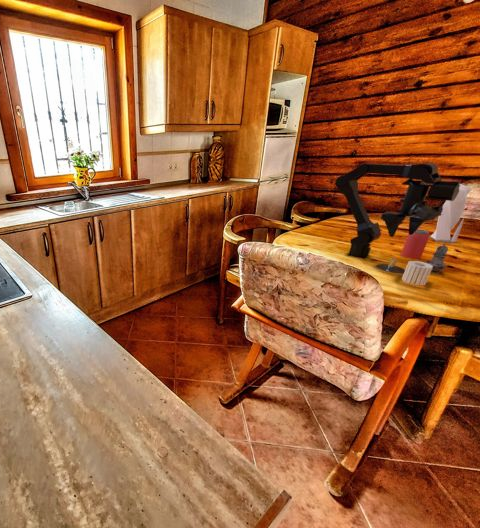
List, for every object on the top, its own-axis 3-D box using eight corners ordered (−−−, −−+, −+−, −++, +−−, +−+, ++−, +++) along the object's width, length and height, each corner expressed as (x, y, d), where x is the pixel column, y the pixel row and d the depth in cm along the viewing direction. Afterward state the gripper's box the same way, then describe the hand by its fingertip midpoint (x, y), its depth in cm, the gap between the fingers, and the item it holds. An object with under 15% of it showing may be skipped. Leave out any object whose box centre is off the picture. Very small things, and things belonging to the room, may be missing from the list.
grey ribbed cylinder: (400, 281, 104) (406, 264, 102) (403, 275, 108) (410, 259, 105) (423, 287, 100) (431, 269, 97) (426, 281, 103) (434, 264, 101)
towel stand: (373, 269, 115) (376, 259, 113) (378, 263, 120) (382, 253, 118) (402, 276, 108) (406, 266, 107) (407, 269, 114) (411, 259, 112)
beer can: (416, 260, 120) (427, 234, 116) (397, 255, 126) (406, 230, 121) (423, 257, 123) (434, 231, 118) (404, 252, 129) (413, 228, 124)
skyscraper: (433, 241, 139) (457, 184, 128) (425, 236, 146) (447, 181, 135) (456, 242, 136) (483, 184, 125) (446, 237, 143) (471, 181, 132)
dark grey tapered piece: (447, 275, 107) (460, 246, 102) (429, 274, 108) (441, 246, 104) (435, 269, 113) (447, 241, 108) (418, 268, 114) (429, 241, 109)
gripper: (417, 203, 98) (402, 244, 105) (460, 199, 101) (443, 239, 107) (386, 197, 108) (373, 235, 115) (426, 194, 111) (412, 231, 117)
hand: (400, 235), depth 113 cm, fingers open, 9 cm apart
